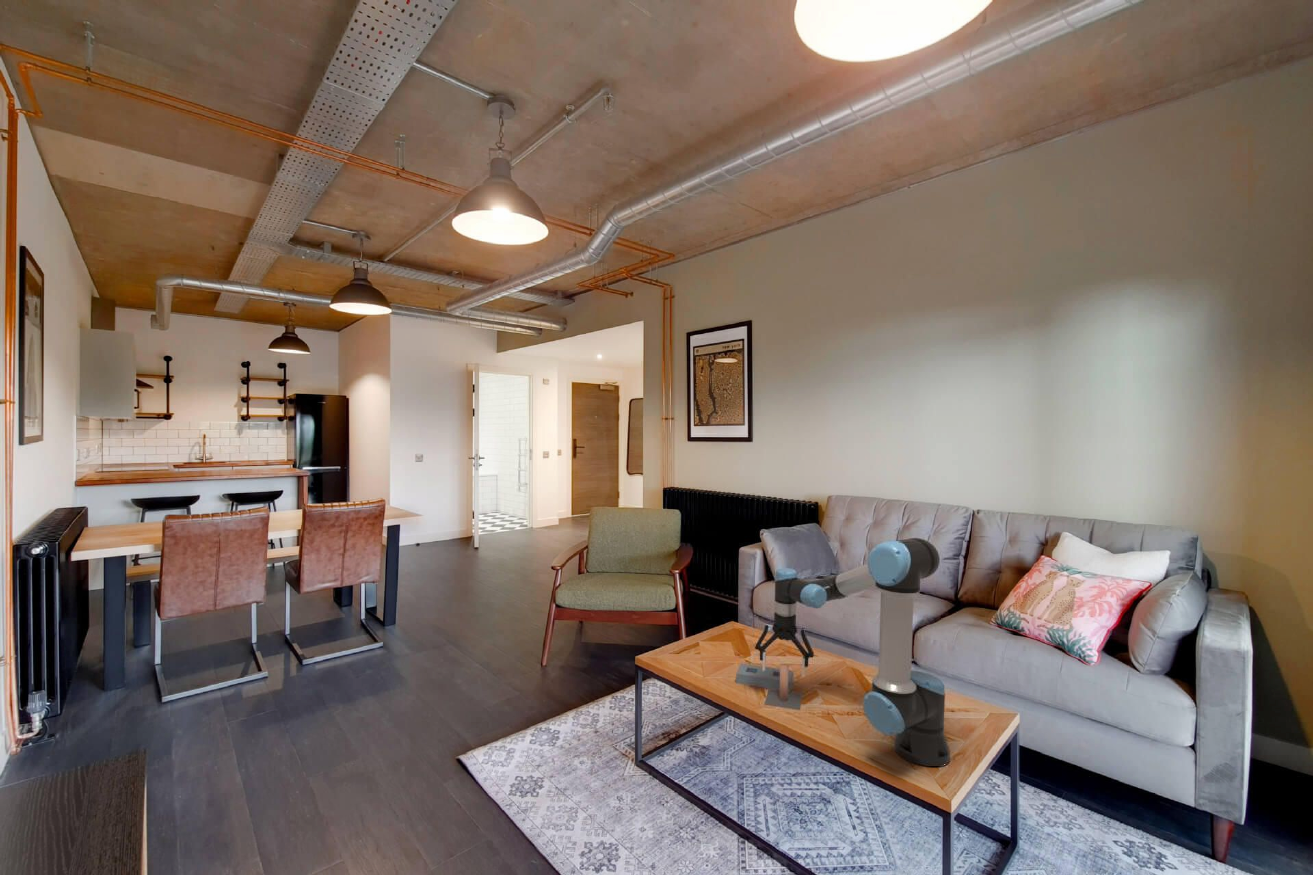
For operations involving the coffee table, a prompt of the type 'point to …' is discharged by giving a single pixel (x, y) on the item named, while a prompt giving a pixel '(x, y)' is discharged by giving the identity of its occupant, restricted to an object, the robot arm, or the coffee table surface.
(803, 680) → the coffee table surface
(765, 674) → the hole block
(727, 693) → the coffee table surface
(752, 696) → the coffee table surface
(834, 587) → the robot arm
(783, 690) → the peg
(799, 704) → the mat
